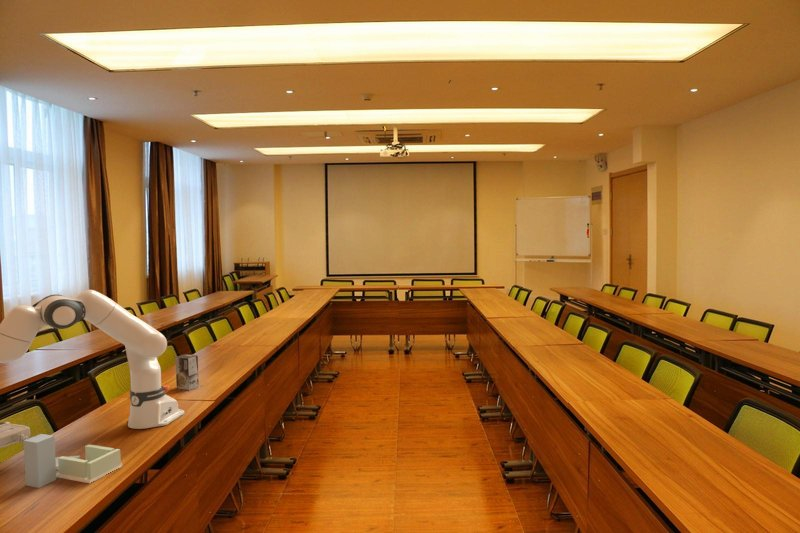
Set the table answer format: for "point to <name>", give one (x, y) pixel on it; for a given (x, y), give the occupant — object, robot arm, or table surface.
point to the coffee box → (187, 371)
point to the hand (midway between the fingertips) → (10, 445)
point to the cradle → (90, 464)
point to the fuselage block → (40, 460)
